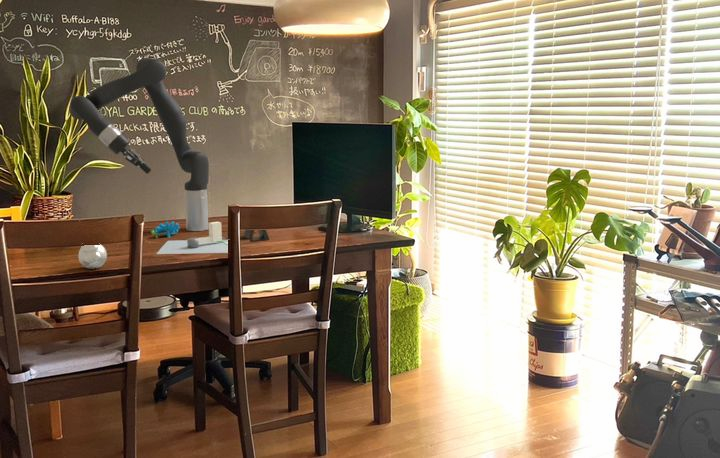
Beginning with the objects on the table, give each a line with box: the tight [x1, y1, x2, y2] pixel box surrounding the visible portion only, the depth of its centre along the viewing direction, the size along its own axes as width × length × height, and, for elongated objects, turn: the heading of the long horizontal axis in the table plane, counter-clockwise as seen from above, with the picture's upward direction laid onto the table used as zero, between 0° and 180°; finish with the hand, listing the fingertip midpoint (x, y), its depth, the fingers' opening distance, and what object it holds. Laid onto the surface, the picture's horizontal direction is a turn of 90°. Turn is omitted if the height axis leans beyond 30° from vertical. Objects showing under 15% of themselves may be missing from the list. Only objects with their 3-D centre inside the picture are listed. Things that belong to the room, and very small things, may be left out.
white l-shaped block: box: [186, 221, 226, 248], centre depth 267 cm, size 16×4×8 cm, turn 136°
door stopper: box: [243, 229, 270, 242], centre depth 283 cm, size 9×6×12 cm, turn 117°
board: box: [156, 239, 229, 255], centre depth 266 cm, size 25×26×2 cm
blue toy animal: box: [150, 221, 180, 239], centre depth 284 cm, size 11×6×10 cm
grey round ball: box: [78, 243, 108, 270], centre depth 235 cm, size 9×10×10 cm
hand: (149, 171), depth 270 cm, fingers closed
